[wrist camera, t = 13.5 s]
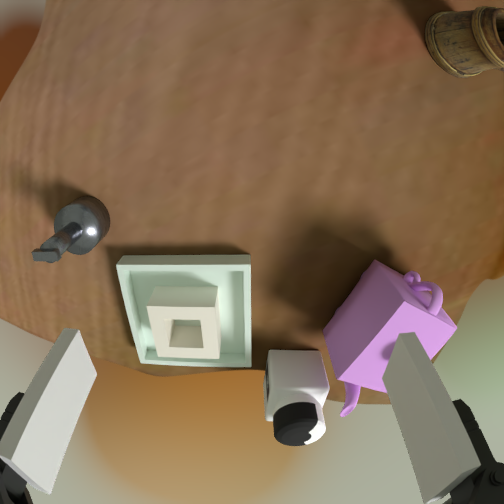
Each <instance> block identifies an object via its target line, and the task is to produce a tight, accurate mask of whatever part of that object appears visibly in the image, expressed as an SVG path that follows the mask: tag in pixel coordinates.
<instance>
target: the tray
mask: <svg viewBox="0 0 504 504" xmlns="http://www.w3.org/2000/svg"><path fill="white" fill-rule="evenodd" d="M116 267H117V272H118V277H119V281H120V286H121V290H122V295H123V299H124V303H125V307H126V311H127V315H128V319H129V323H130V327H131V331H132V334H133V338H134V342H135V345H136V349H137V352H138V355H139V359H140V362H141V363H147V364H161V365H178V366H202V367H251V255H123V256H122V258H121V259H120V260H119V262H118V263H117V264H116ZM156 286H194V287H218V293H219V307H220V321H221V335H222V338H221V348H220V357H219V359H198V358H174V357H158V355H157V351H156V346H155V342H154V338H153V334H152V329H151V325H150V320H149V316H148V311H147V304H148V301H149V299H150V297H151V295H152V293H153V291H154V289H155V287H156ZM175 325H179V326H201V322H200V320H178V319H175Z"/></svg>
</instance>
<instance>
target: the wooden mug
mask: <svg viewBox="0 0 504 504" xmlns="http://www.w3.org/2000/svg"><path fill="white" fill-rule="evenodd" d="M425 40H426V44H427V47H428V50H429V52H430V54H431V56H432V58H433V59H434V60H435V62H436V63H437V64H438V65H439V66H440V67H441V68H442V69H443V70H445V71H446V72H448V73H449V74H451V75H454V76H456V77H460V78H467V77H471V76H474V75H477V74H479V73H481V72H482V71H485V70H489V69H498V70H501V71H504V9H503V8H496V7H487V6H482V7H478V8H476V9H475V10H471V11H461V12H454V11H451V12H439V13H436V14H434V15H433V16H432V17H430V18H429V20H428V22H427V23H426V28H425Z"/></svg>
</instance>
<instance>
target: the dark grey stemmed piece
mask: <svg viewBox="0 0 504 504" xmlns="http://www.w3.org/2000/svg"><path fill="white" fill-rule="evenodd" d="M109 227H110V217H109V213H108V211H107V209H106V207H105V206H104V204H103V203H102V202H101V201H100V200H98V199H97V198H95V197H92V196H82V197H80V198H78V199H76V200H75V201H73V202H72V203H70V204H68V205H67V206H65V207H64V208H62V209H61V210H60V211H59V212H58V213H57V215H56V217H55V221H54V231H55V234H54V235H53V236H52V237H51V238H49V239H48V240H47V241H46V242H44V243H43V244H42V245H41V247H40V249H35V250H33V251H32V255H33V259H34V261H46V262H48V263H53V262H55V261H59V260H60V259H61V255H62V254H63V253H64V252H66V251H69V252H71V253H73V254H77V255H82V254H86V253H88V252H89V251H91V250H92V249H93V248H94V247H95V246H96V245H97V244H98V243H99V242H100V241H101V240H102V239H103V238H104V237H105V235H106V234H107V233H108V230H109Z"/></svg>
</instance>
